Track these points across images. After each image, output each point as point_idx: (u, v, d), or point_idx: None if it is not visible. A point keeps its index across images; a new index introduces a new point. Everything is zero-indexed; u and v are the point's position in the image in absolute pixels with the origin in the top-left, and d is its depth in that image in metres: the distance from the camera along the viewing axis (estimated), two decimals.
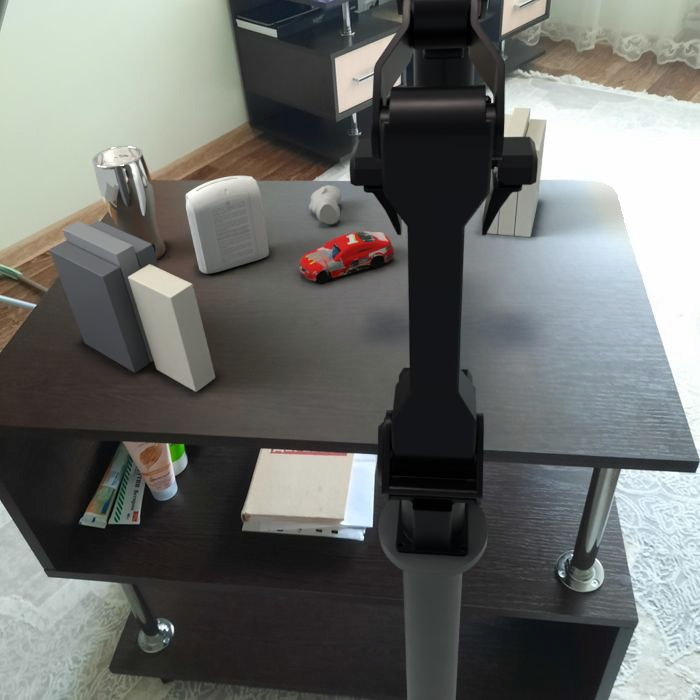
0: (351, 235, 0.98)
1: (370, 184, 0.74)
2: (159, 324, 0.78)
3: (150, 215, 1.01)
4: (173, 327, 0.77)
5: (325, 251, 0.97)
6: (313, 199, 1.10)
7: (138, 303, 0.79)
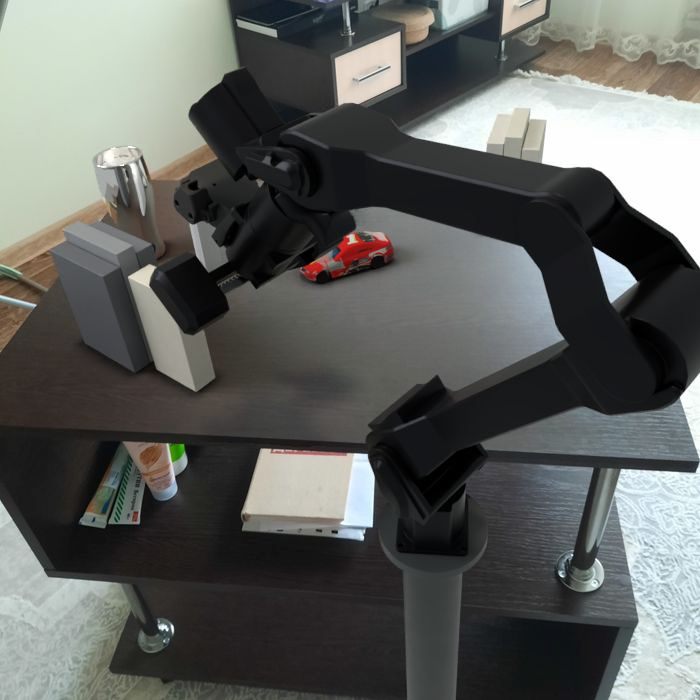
0: (351, 235, 0.98)
1: None
2: (159, 324, 0.78)
3: (150, 215, 1.01)
4: (173, 327, 0.77)
5: None
6: None
7: (138, 303, 0.79)
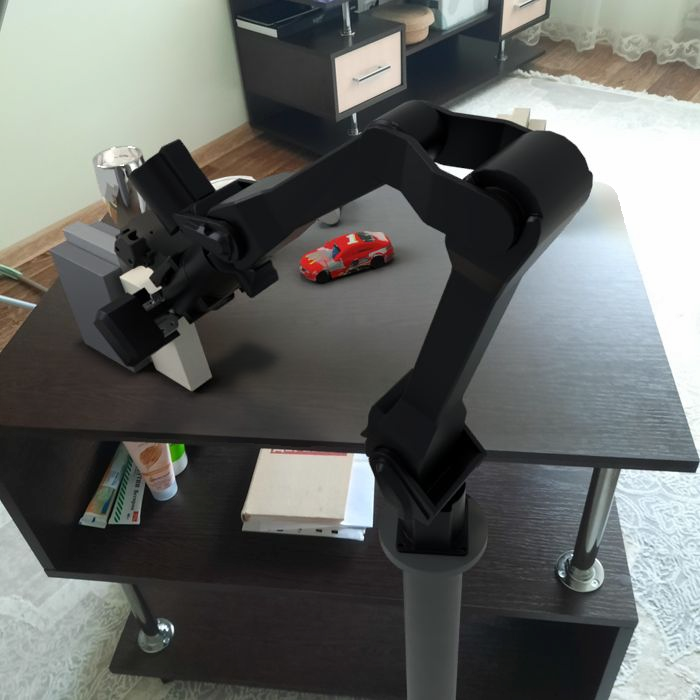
0: (351, 235, 0.98)
1: None
2: None
3: None
4: None
5: (325, 251, 0.97)
6: None
7: None
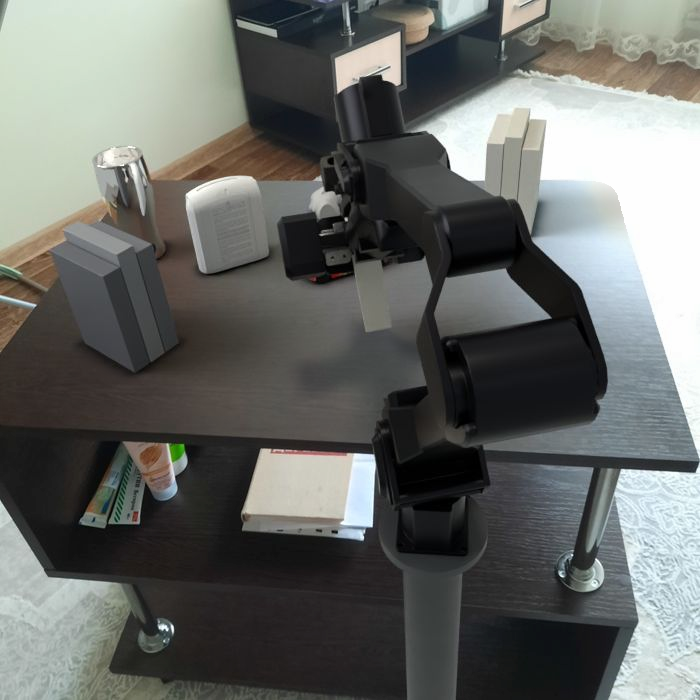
0: None
1: (307, 278, 0.73)
2: None
3: (150, 215, 1.01)
4: None
5: None
6: (313, 199, 1.10)
7: None
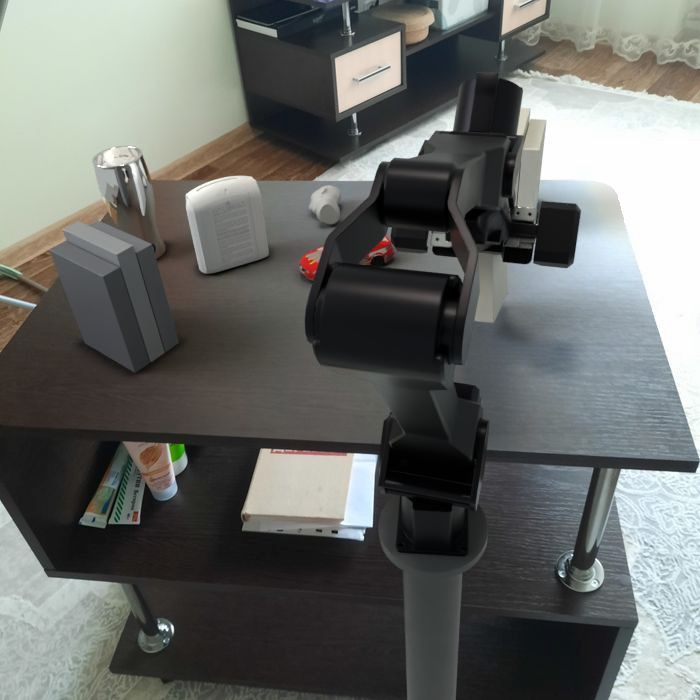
0: None
1: (412, 252, 0.78)
2: None
3: (150, 215, 1.01)
4: None
5: None
6: (313, 199, 1.10)
7: None
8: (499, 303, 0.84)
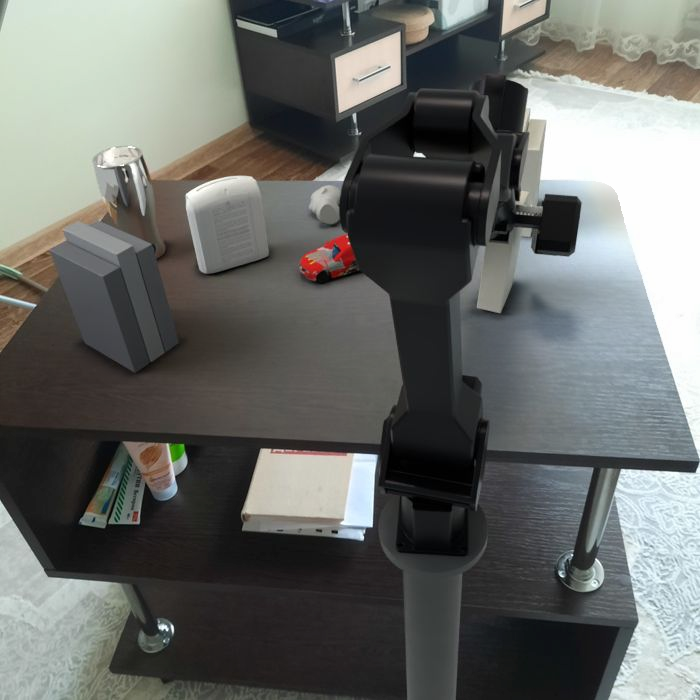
0: None
1: None
2: None
3: (150, 215, 1.01)
4: None
5: (325, 251, 0.97)
6: (313, 199, 1.10)
7: None
8: (506, 294, 0.90)
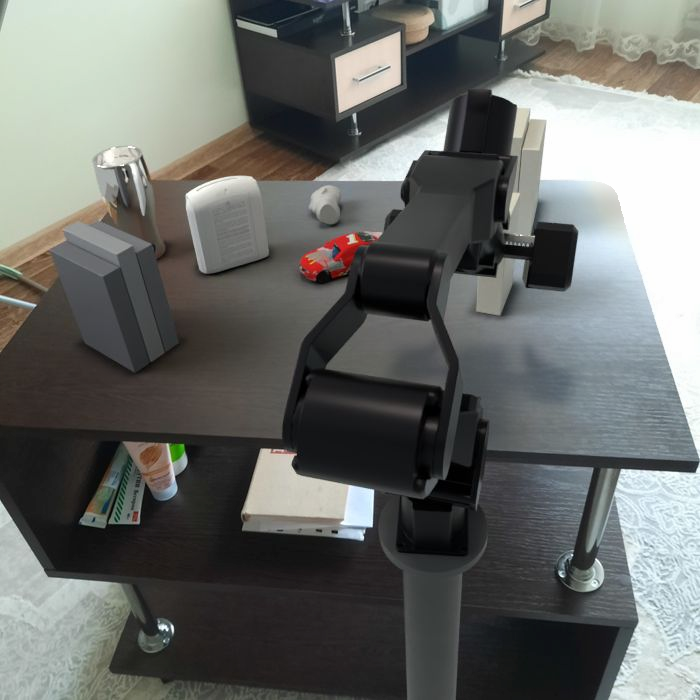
0: (351, 235, 0.98)
1: None
2: None
3: (150, 215, 1.01)
4: None
5: (325, 251, 0.97)
6: (313, 199, 1.10)
7: None
8: (505, 296, 0.90)
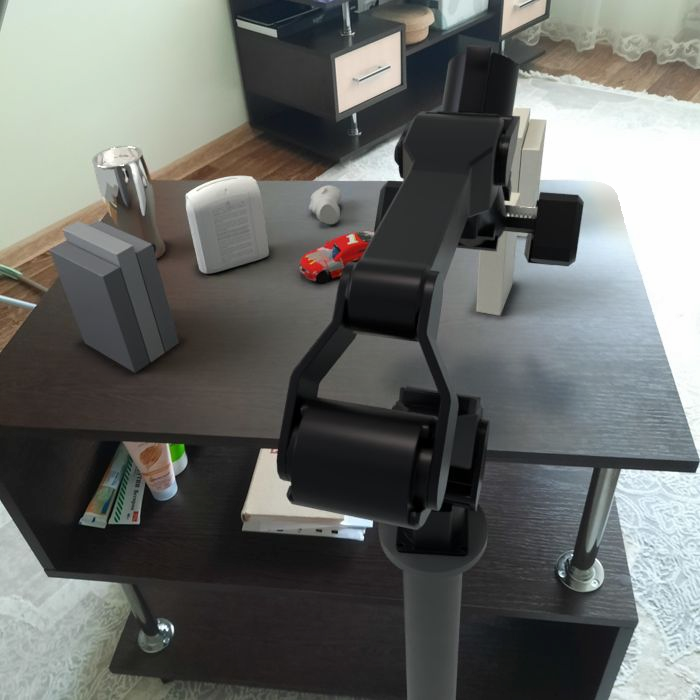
0: (351, 235, 0.98)
1: None
2: None
3: (150, 215, 1.01)
4: None
5: (325, 251, 0.97)
6: (313, 199, 1.10)
7: None
8: (505, 296, 0.90)
